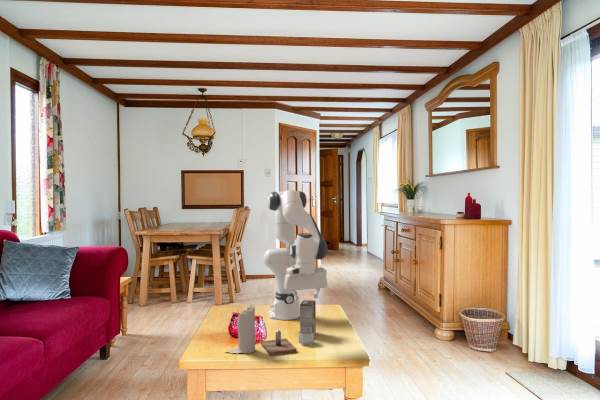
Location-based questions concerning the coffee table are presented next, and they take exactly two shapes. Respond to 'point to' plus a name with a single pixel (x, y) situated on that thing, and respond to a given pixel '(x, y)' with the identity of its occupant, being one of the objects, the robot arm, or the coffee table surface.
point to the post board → (278, 347)
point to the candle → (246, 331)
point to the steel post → (278, 338)
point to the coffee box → (308, 316)
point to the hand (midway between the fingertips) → (306, 298)
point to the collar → (306, 338)
